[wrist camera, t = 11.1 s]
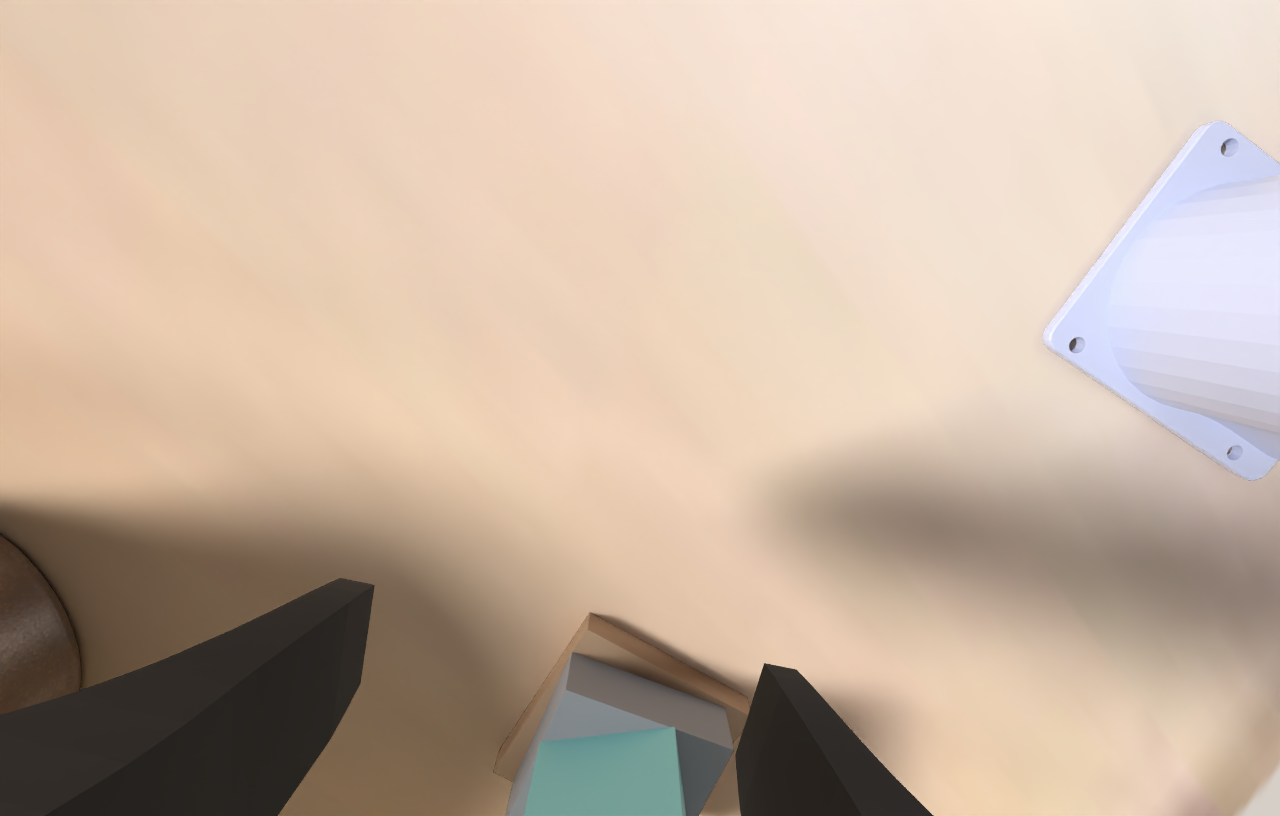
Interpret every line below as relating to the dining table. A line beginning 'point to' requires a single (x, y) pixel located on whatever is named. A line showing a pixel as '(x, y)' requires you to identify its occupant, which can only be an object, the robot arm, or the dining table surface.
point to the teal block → (608, 776)
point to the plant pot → (32, 636)
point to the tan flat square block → (628, 656)
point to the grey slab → (631, 725)
